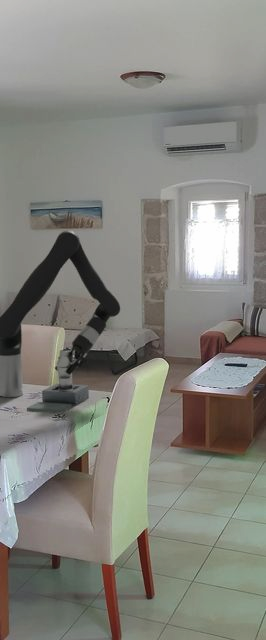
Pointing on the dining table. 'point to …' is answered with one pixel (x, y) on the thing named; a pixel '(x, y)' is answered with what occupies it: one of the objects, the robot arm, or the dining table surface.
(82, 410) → the dining table surface
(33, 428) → the dining table surface
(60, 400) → the metal collar
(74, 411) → the dining table surface
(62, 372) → the silver metal bottle
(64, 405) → the grey-green rectangular panel
